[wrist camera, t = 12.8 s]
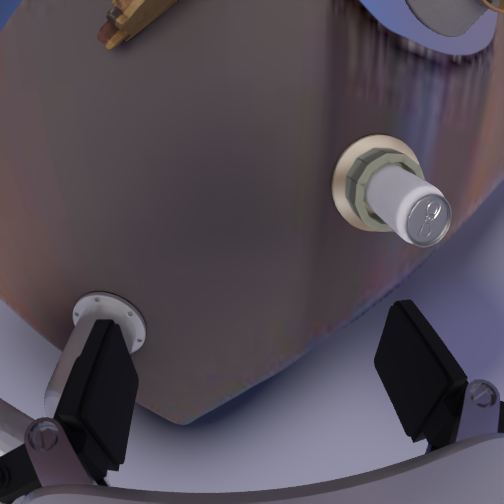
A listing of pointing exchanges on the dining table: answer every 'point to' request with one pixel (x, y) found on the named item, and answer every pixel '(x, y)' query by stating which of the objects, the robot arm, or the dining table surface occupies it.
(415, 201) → the can
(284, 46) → the dining table surface
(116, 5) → the wooden carving
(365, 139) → the cup holder
